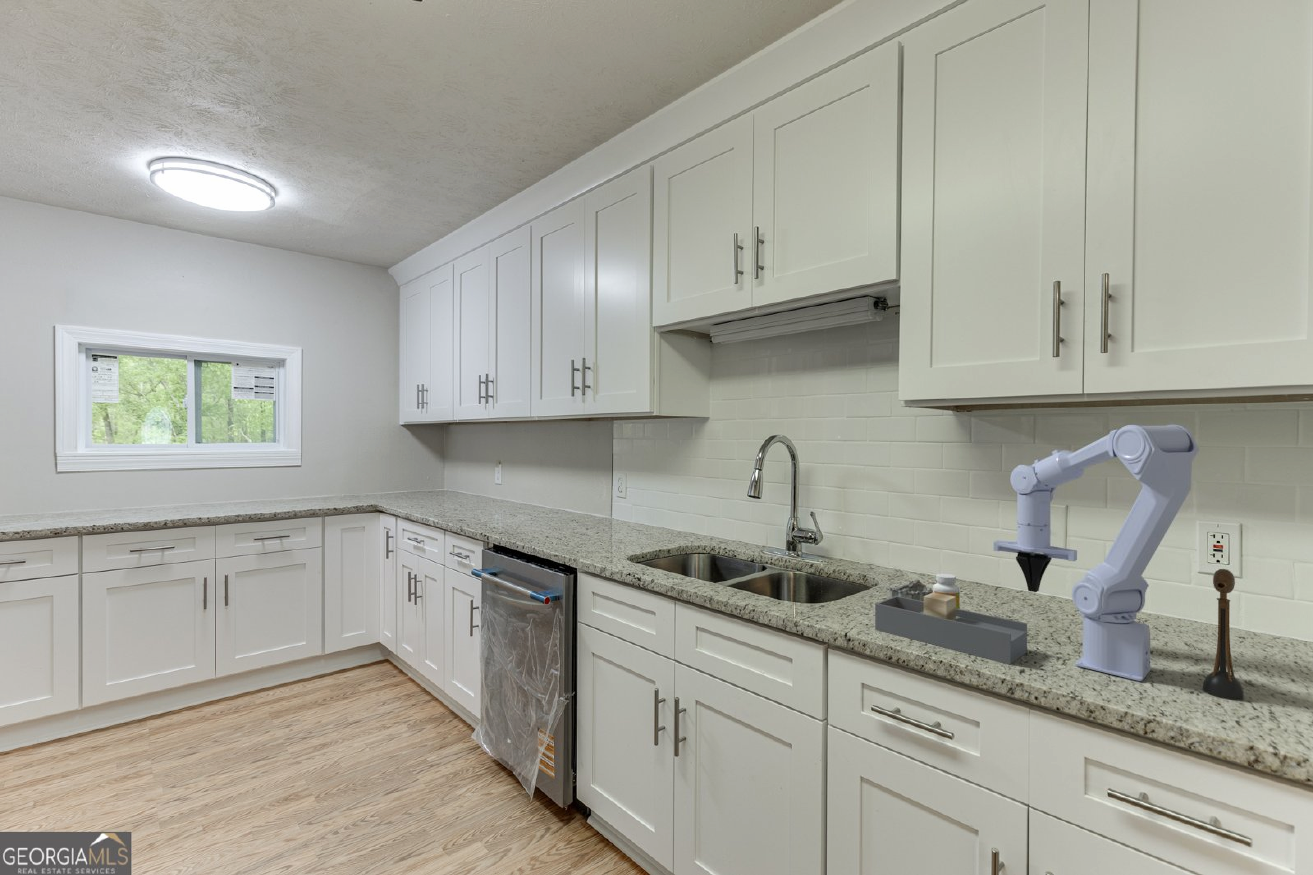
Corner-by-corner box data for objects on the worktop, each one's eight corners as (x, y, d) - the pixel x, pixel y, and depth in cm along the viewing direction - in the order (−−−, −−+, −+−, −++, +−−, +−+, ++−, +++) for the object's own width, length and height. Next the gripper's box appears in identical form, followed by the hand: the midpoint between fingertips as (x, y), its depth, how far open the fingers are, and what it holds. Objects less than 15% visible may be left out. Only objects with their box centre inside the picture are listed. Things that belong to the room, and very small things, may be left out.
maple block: (955, 618, 122) (955, 596, 122) (946, 623, 119) (946, 601, 119) (933, 613, 126) (933, 592, 126) (923, 618, 123) (923, 596, 123)
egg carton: (920, 595, 156) (920, 579, 156) (940, 603, 148) (941, 586, 148) (884, 597, 153) (884, 581, 153) (902, 605, 146) (903, 589, 146)
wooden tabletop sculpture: (1240, 704, 93) (1240, 574, 92) (1199, 694, 96) (1200, 569, 96) (1245, 693, 96) (1245, 569, 96) (1206, 684, 100) (1206, 564, 100)
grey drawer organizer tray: (1027, 652, 115) (1027, 623, 115) (1010, 664, 109) (1010, 634, 109) (895, 620, 134) (895, 595, 134) (875, 629, 128) (875, 603, 128)
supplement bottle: (962, 623, 132) (962, 578, 132) (936, 621, 133) (936, 577, 133) (955, 615, 137) (955, 573, 137) (930, 614, 138) (930, 572, 138)
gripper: (987, 522, 126) (987, 587, 126) (1069, 530, 115) (1069, 602, 115) (1000, 518, 130) (1000, 581, 131) (1080, 526, 120) (1080, 595, 120)
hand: (1033, 590), depth 123 cm, fingers closed
